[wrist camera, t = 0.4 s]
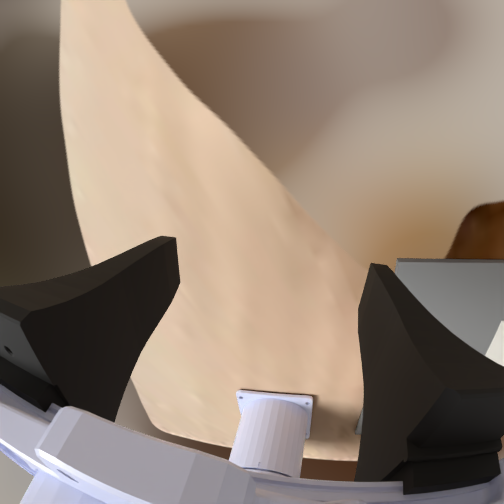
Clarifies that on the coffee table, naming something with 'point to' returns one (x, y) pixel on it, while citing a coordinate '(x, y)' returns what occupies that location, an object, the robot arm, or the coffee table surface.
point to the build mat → (460, 300)
